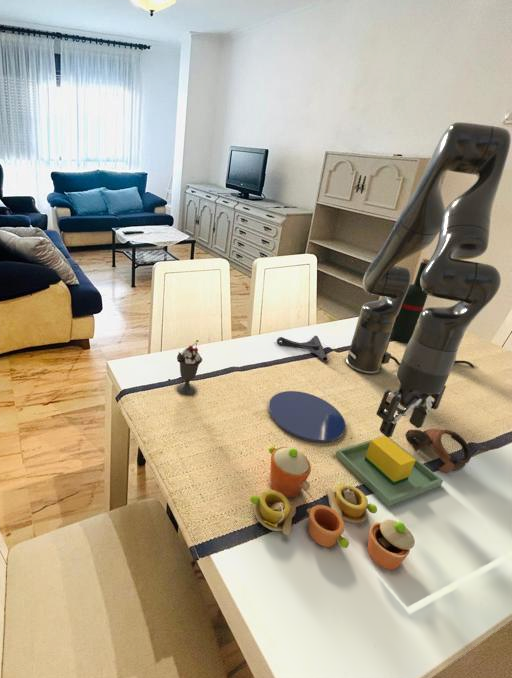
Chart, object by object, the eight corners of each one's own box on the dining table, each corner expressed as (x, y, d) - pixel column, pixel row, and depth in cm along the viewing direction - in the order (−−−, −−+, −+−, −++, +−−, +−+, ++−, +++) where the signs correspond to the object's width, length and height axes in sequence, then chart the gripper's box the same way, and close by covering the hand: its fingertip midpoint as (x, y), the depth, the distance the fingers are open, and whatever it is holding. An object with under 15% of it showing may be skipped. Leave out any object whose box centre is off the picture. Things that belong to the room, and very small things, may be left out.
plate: (307, 390, 108) (308, 385, 107) (360, 434, 92) (362, 430, 92) (254, 402, 101) (254, 398, 101) (301, 452, 86) (302, 447, 85)
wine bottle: (378, 329, 146) (402, 253, 134) (409, 335, 142) (436, 258, 131) (382, 338, 139) (407, 259, 127) (414, 345, 135) (443, 264, 124)
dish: (384, 441, 90) (386, 435, 90) (440, 487, 79) (443, 480, 78) (334, 457, 85) (336, 450, 84) (387, 508, 74) (390, 501, 73)
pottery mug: (442, 443, 92) (470, 432, 85) (448, 484, 86) (479, 476, 79) (393, 424, 92) (417, 412, 86) (396, 463, 86) (423, 453, 80)
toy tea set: (245, 524, 69) (253, 485, 65) (258, 462, 82) (265, 427, 79) (411, 591, 60) (432, 550, 57) (396, 510, 74) (411, 472, 70)
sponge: (378, 454, 86) (385, 435, 84) (407, 479, 80) (416, 459, 78) (364, 459, 84) (370, 440, 82) (392, 485, 78) (400, 465, 76)
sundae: (201, 386, 106) (207, 339, 101) (193, 400, 101) (199, 351, 95) (179, 379, 109) (184, 333, 103) (170, 392, 103) (174, 344, 97)
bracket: (274, 334, 137) (275, 327, 136) (317, 340, 135) (319, 333, 134) (278, 355, 124) (280, 348, 123) (327, 362, 122) (329, 354, 121)
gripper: (419, 380, 66) (391, 451, 72) (472, 367, 71) (442, 434, 77) (381, 357, 73) (359, 424, 79) (432, 346, 77) (407, 410, 84)
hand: (400, 429), depth 78 cm, fingers open, 8 cm apart
